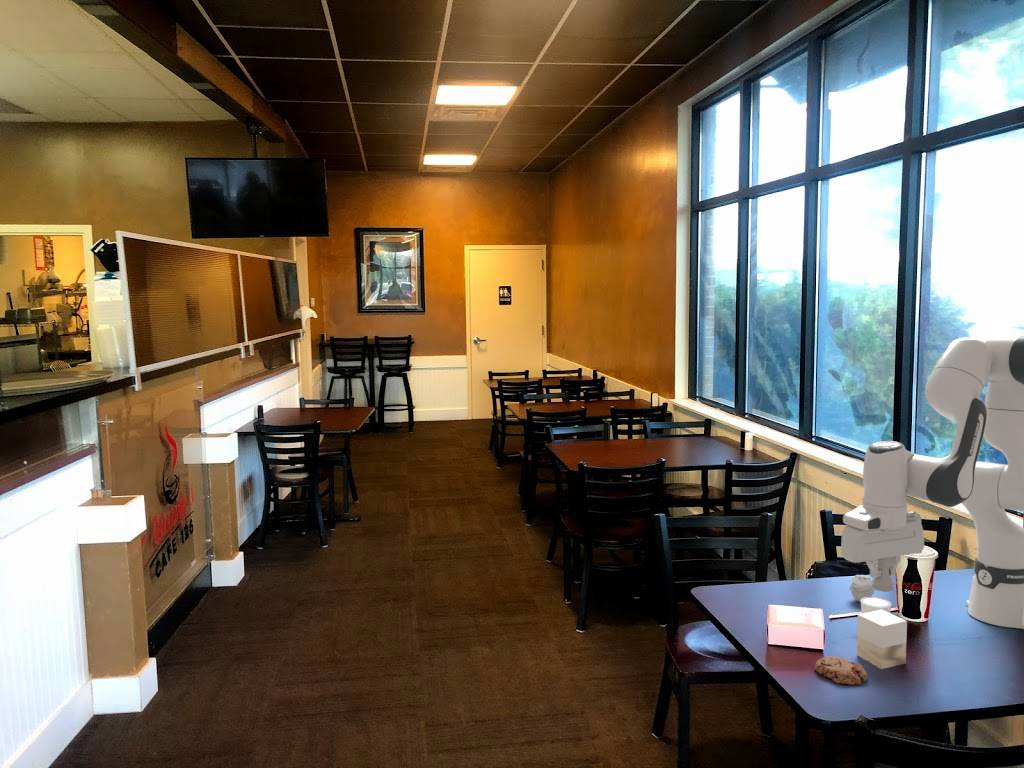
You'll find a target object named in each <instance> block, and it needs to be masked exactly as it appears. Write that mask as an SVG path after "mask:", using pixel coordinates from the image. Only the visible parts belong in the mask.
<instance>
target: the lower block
mask: <svg viewBox="0 0 1024 768" xmlns="http://www.w3.org/2000/svg"><path fill="white" fill-rule="evenodd" d="M856 636H857V635H856ZM857 655H858V656H860V657H862V658H863V659H862V658H861V659H862V660H864V659H865V660H867V661H869V662H870V663H869V662H868V663H869V664H871V663H872V664H871V665H873V664H874V665H875V666H874V665H873V666H874V667H876V666H877V667H876V668H878V669H880V670H883V669H887V668H892V667H895V666H896V665H897V666H900V665H905V664H906V663H907V662H906V661H907V659H906V658H907V642H906V643H903V644H899V645H894V646H890V647H886V648H881V647H879V646H877V645H875V644H873V643H871V642H869V641H867V640H865V639H863V638H861V637H859V636H857V637H856V656H857ZM858 656H857V657H858ZM860 657H859V658H860ZM865 660H864V661H865ZM867 661H866V662H867ZM897 666H896V667H897Z"/></svg>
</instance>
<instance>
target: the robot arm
mask: <svg viewBox="0 0 1024 768" xmlns="http://www.w3.org/2000/svg"><path fill="white" fill-rule="evenodd" d="M931 371H932V372H931V373H930V375H929V378H928V379H927V381H926V384H925V387H924V388H925V389H924V394H925V399H926V401H927V403H928V404H929V406H930V407H931V408H932V410H934V411H935V412H936V413H937V414H939V415H941V416H942V417H944V418H945V419H948V420H950V421H952V422H954V423H955V424H957V425H956V431H955V435H954V437H953V442H952V446H951V450H950V452H949V454H948V455H947V456H944V457H935V456H928V455H922V454H918V453H914V452H912V451H909V450H908V449H906V447H905V445H904V444H903V443H901V442H900V441H899V442H898V441H894V440H883V441H876V442H873V443H871V444H870V445H869V446H868V447H867V449H866V451H865V455H864V462H863V467H862V468H863V471H862V484H863V487H864V493H863V497H862V504H861V505H859V506H857V507H856V508H854V509H853V510H851V511H848V512H846V513H845V514H844V515H843V516H842V522H843V523H844V524H845V526H844V528H843V529H842V532H841V540H840V541H841V543H840V544H841V546H840V548H841V549H840V550H841V551H840V553H841V556H842V558H843V559H845V560H846V561H848V562H851V563H853V564H854V563H855V564H857V563H862V562H865V563H866V565H867V567H868V569H869V577H870V578H872V579H874V578H880V577H881V570H879V569H877V565H876V564H877V563H878V559H883V558H889V557H890V558H891V560H890V562H889V564H890V566H889V574H890V577H892V576H895V575H896V572H897V567H898V566H899V564H900V562H901V557H902V556H906V555H907V556H908V555H913V554H919V553H922V552H923V550H924V548H925V537H924V536H925V535H924V534H925V533H924V528H923V525H922V517H921V515H920V513H917V511H913V510H912V511H908V501H907V497H908V496H909V497H910V498H915V499H920V500H925V501H928V502H932V503H935V504H938V505H940V506H945V507H947V508H952V507H953V508H954V507H956V506H958V505H961V504H962V506H964V507H965V508H966V511H968V513H969V515H970V516H971V519H972V521H973V524H974V526H975V527H974V528H975V531H976V547H977V549H976V557H975V558H974V563H973V566H974V575H973V576H972V580H971V586H970V591H969V593H970V594H969V599H966V602H965V603H966V604H965V605H966V606H967V613H968V614H969V616H970V617H973V618H974V619H976V620H979V621H981V622H983V623H987V624H990V625H994V626H998V627H1003V628H1005V627H1006V628H1012V629H1014V628H1015V629H1022V630H1024V527H1023V526H1021V525H1019V524H1018V523H1016V522H1014V521H1013V520H1012V519H1011V518H1010V517H1009V516H1008V514H1007V512H1006V510H1010V511H1016V512H1021V513H1024V336H1012V335H998V334H997V335H996V334H995V335H994V334H993V335H990V336H987V335H985V336H976V337H971V336H965V337H960V338H957V339H954V340H953V341H952V342H950V343H949V344H948V345H947V346H946V348H945V350H944V352H943V353H942V355H941V357H940V358H939V359H938V361H937V362H936V364H935V366H934V368H933V370H931ZM987 382H988V383H987ZM986 384H987V388H986V391H985V398H984V399H985V400H984V402H983V401H982V400H981V394H982V393H983V390H984V387H985V386H986ZM983 439H984V440H985V441H986V443H987V444H988V445H989V446H990V447H992V448H994V449H995V450H998V451H999V452H1000V453H1002V455H1004V457H1005V459H1006V461H1007V464H1004V463H1003V464H1002V463H995V462H989V461H981V460H980V461H979V460H978V457H979V454H980V450H981V445H982V442H983ZM906 496H907V497H906Z"/></svg>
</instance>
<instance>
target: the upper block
mask: <svg viewBox="0 0 1024 768" xmlns="http://www.w3.org/2000/svg"><path fill="white" fill-rule="evenodd" d="M907 630H908V621H907V619H904V618H901V617H900V616H896V615H894V614H893V613H891V612H890V613H888V612H886V611H884V610H877V611H872V612H867V613H863V614H862V613H859V614H857V630H856V631H857V635H856V636H859V637H861V638H863V639H865V640H867V641H869V642H871V643H873V644H875V645H877V646H879V647H881V648H886V647H890V646H894V645H899V644H903V643H906V644H907V637H908V636H907V634H908V633H907V632H908V631H907Z"/></svg>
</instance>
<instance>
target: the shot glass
mask: <svg viewBox="0 0 1024 768" xmlns="http://www.w3.org/2000/svg"><path fill="white" fill-rule="evenodd" d="M860 607H861V608H860V610H861V614H863V613H867V612H872V611H877V610H884V611H886V612H888V613H890V614H891V610H892V602H891V601H890V600H887V599H884V598H881V597H876V596H872V597H865V598H862V599H861V602H860Z"/></svg>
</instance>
